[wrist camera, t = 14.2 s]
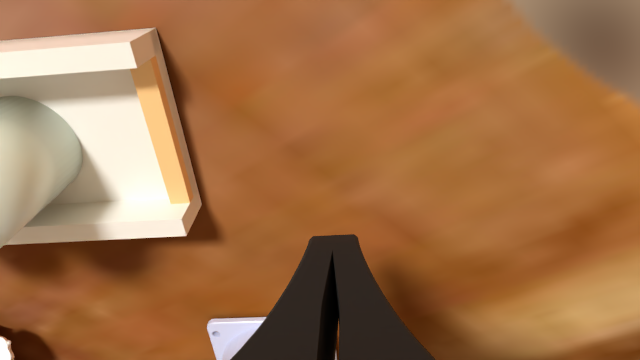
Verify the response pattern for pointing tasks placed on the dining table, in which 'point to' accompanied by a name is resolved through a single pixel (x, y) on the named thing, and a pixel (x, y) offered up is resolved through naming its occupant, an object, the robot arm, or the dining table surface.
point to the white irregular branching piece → (5, 349)
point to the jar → (32, 161)
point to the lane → (108, 135)
